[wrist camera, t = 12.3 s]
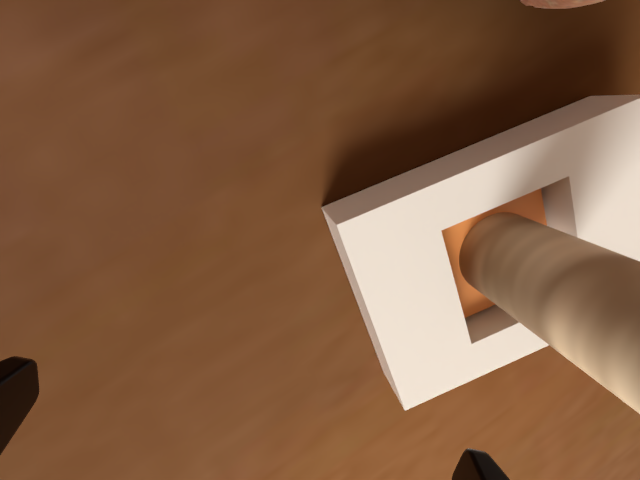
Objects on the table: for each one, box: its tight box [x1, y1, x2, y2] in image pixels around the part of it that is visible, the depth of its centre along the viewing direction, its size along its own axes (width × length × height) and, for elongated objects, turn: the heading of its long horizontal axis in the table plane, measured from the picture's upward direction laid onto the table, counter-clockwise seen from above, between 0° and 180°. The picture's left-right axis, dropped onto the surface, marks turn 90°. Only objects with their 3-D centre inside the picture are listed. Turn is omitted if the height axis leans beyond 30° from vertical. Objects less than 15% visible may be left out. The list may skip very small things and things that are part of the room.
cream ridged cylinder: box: [459, 212, 640, 414], centre depth 14 cm, size 4×4×12 cm
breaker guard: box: [321, 95, 640, 410], centre depth 20 cm, size 14×10×3 cm
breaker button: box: [441, 188, 547, 318], centre depth 20 cm, size 5×5×2 cm
